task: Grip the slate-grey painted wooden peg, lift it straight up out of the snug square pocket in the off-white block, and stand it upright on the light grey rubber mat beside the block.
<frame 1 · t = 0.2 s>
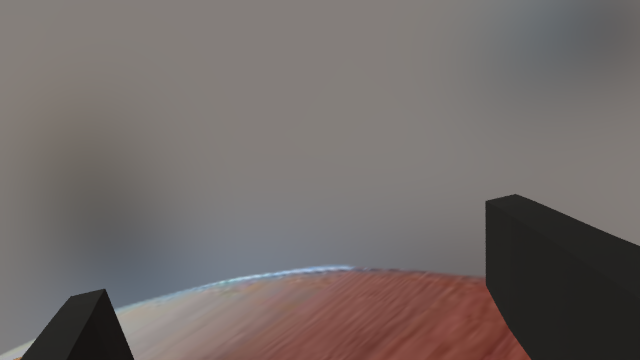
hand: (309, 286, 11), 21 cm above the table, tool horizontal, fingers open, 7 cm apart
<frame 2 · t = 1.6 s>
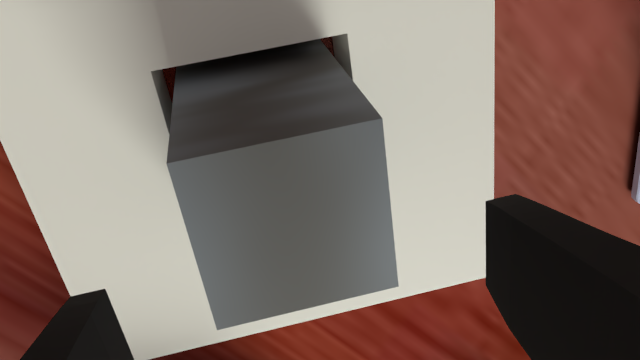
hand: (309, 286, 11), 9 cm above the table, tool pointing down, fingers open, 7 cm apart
peg: (260, 111, 19), resting in pocket block
pocket block: (260, 112, 19), on the table
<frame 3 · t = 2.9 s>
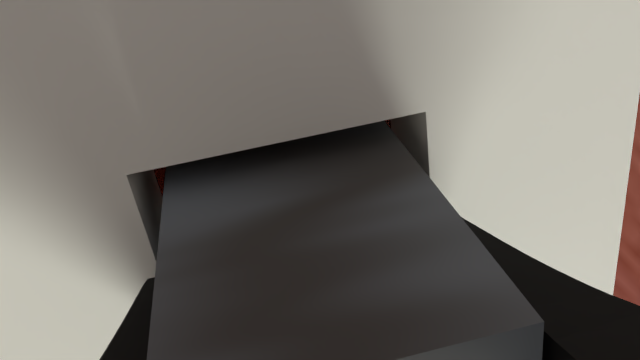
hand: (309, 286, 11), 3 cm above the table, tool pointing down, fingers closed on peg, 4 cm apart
peg: (286, 203, 14), resting in pocket block, touching gripper
pocket block: (286, 203, 14), on the table
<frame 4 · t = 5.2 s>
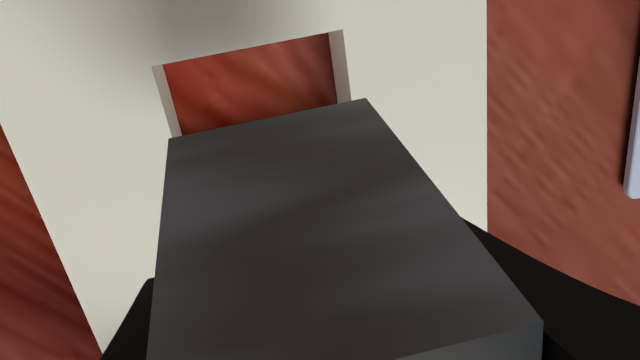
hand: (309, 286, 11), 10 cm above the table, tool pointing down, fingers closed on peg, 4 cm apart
peg: (285, 203, 14), point 7 cm above the table, touching gripper
pocket block: (258, 107, 19), on the table
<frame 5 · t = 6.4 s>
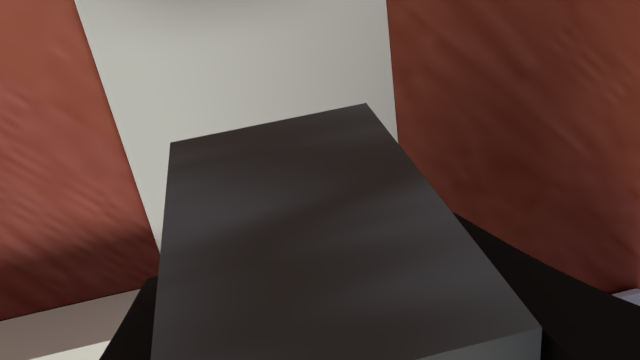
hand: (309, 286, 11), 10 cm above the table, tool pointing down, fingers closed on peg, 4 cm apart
peg: (286, 206, 14), point 6 cm above the table, touching gripper
mat: (259, 109, 19), on the table
when the fingers open (5 cm above the table, at t = 7.6 s): peg drops 1 cm, resting on mat.
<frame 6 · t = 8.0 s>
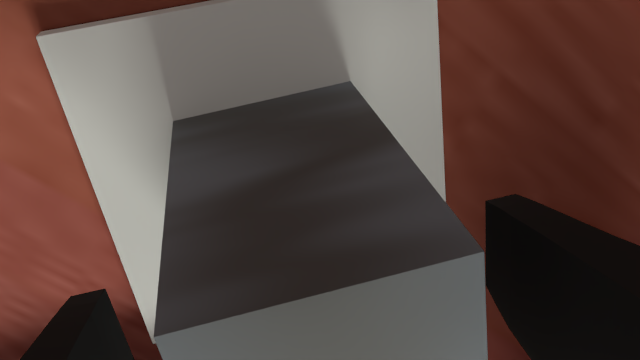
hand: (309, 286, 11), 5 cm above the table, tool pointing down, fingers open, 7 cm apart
peg: (280, 179, 15), resting on mat
mat: (275, 166, 15), on the table
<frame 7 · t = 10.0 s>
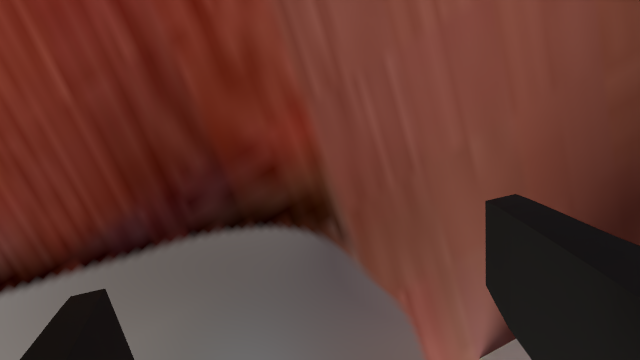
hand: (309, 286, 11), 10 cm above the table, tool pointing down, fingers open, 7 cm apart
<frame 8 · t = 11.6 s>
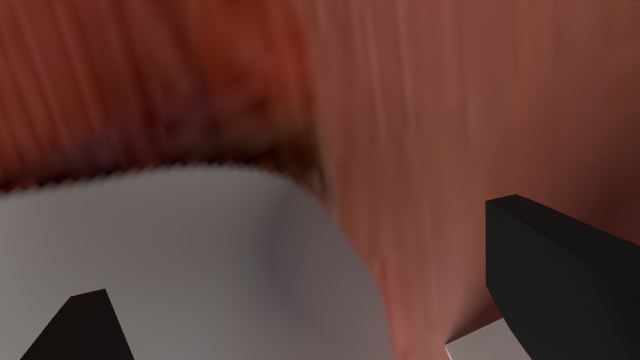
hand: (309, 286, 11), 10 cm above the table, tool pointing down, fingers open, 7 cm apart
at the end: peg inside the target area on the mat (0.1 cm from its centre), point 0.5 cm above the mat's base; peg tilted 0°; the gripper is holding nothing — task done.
